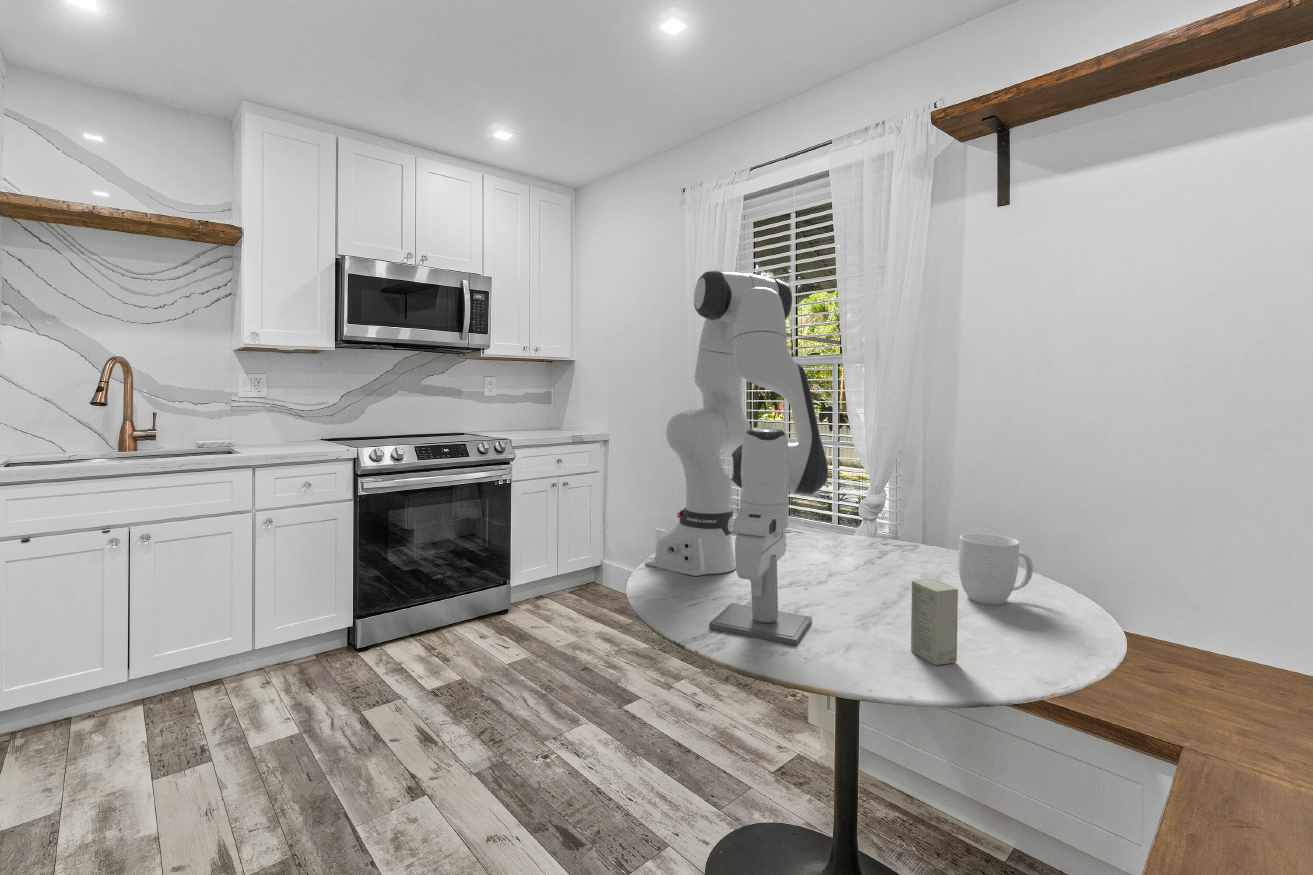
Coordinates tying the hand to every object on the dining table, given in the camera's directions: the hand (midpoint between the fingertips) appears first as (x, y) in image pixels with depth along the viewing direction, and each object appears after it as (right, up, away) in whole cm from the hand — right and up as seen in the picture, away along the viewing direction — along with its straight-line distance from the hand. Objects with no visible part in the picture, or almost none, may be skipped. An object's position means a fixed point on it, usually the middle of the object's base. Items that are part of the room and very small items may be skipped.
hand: (762, 590), depth 113 cm
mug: (+51, -6, +15) cm, 53 cm away
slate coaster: (0, -7, +1) cm, 7 cm away
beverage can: (+1, -6, 0) cm, 6 cm away
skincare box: (+26, -8, -12) cm, 30 cm away
